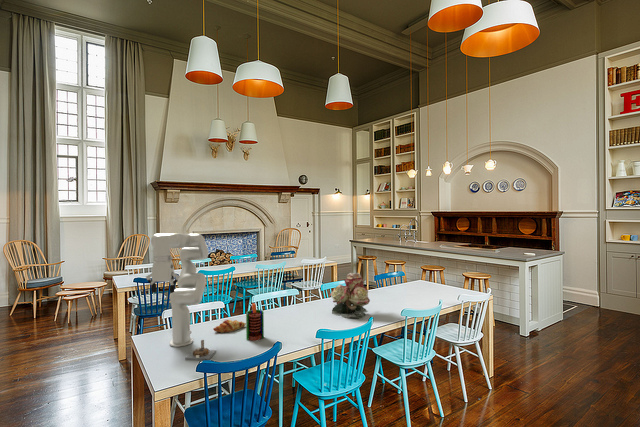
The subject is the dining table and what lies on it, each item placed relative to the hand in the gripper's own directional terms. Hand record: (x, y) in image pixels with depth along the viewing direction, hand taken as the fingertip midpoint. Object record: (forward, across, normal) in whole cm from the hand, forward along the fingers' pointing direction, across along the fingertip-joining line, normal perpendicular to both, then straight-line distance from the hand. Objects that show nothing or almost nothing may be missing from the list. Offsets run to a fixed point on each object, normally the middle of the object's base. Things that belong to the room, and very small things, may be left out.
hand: (163, 292), depth 179 cm
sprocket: (+34, -17, -6) cm, 38 cm away
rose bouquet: (+35, -99, -82) cm, 133 cm away
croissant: (+35, -20, -46) cm, 61 cm away
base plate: (+35, -17, -6) cm, 39 cm away
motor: (+35, -39, -32) cm, 61 cm away
